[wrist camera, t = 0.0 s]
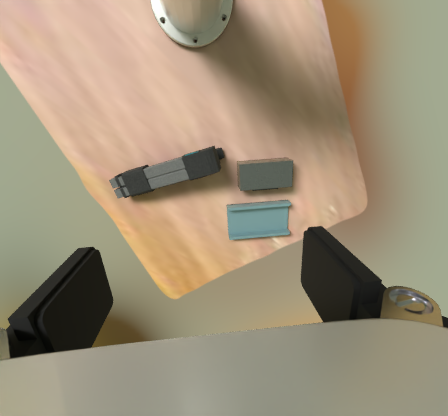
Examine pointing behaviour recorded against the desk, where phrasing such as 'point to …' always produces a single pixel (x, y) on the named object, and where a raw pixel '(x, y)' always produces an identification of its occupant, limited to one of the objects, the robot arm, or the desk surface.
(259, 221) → the cradle tray
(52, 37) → the desk surface
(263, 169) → the block
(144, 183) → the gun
